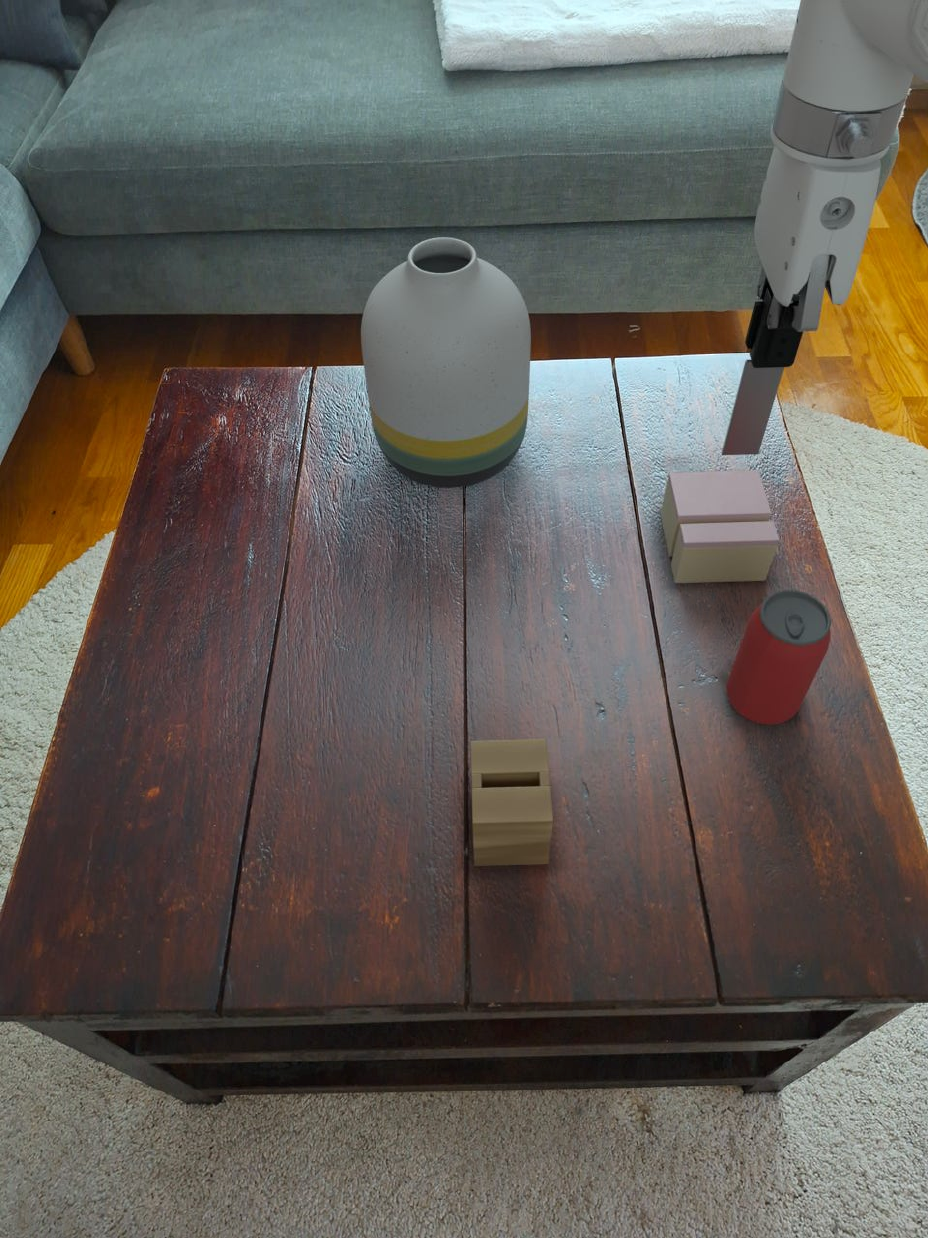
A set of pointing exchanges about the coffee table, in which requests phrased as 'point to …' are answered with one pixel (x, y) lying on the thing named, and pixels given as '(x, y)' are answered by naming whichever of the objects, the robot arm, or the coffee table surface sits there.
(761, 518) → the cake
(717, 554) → the cake slice
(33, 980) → the coffee table surface
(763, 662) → the beer can
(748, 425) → the knife
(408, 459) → the vase
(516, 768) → the knife block
